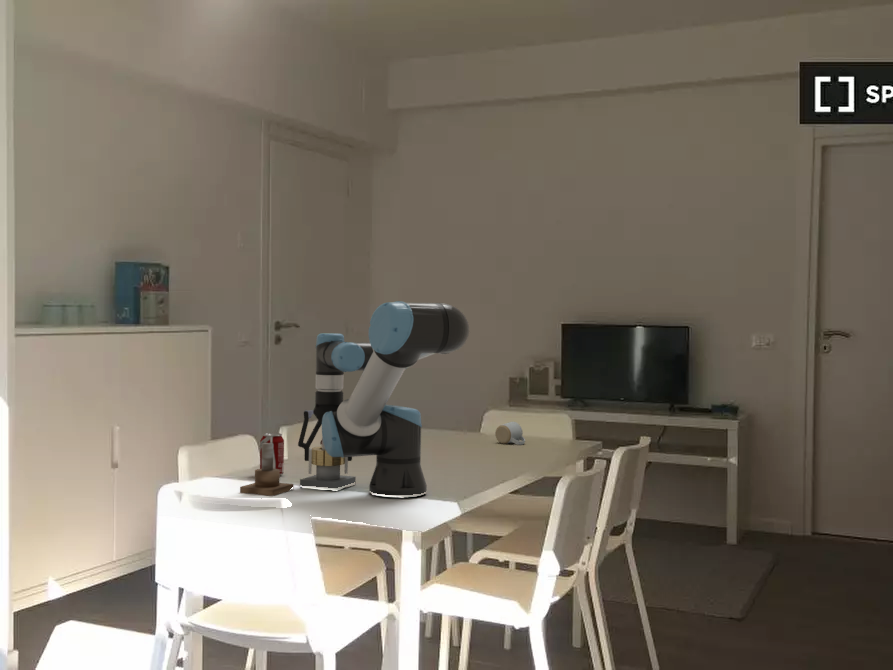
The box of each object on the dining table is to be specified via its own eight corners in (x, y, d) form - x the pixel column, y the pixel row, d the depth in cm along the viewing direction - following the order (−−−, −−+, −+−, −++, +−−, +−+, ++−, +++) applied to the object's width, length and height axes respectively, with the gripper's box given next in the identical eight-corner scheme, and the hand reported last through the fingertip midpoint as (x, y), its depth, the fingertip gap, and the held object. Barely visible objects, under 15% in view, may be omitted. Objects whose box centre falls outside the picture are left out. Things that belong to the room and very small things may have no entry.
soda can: (285, 473, 285) (285, 432, 284) (281, 477, 278) (282, 435, 278) (261, 473, 284) (262, 432, 284) (258, 477, 278) (258, 435, 277)
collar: (344, 460, 270) (344, 446, 270) (345, 465, 261) (345, 450, 261) (311, 460, 269) (311, 446, 269) (311, 465, 260) (311, 451, 260)
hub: (355, 485, 268) (356, 436, 268) (335, 491, 258) (336, 441, 257) (320, 482, 272) (321, 434, 272) (299, 488, 262) (300, 438, 262)
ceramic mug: (493, 443, 360) (494, 422, 360) (505, 441, 367) (506, 420, 366) (517, 446, 354) (518, 425, 353) (529, 444, 360) (530, 423, 360)
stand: (293, 489, 260) (294, 442, 260) (272, 495, 251) (273, 447, 250) (261, 486, 264) (262, 440, 263) (240, 492, 254) (240, 444, 254)
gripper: (368, 389, 269) (367, 470, 270) (289, 388, 267) (287, 470, 267) (370, 391, 262) (368, 475, 263) (288, 391, 259) (287, 475, 260)
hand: (328, 472), depth 265 cm, fingers closed on collar, 9 cm apart
